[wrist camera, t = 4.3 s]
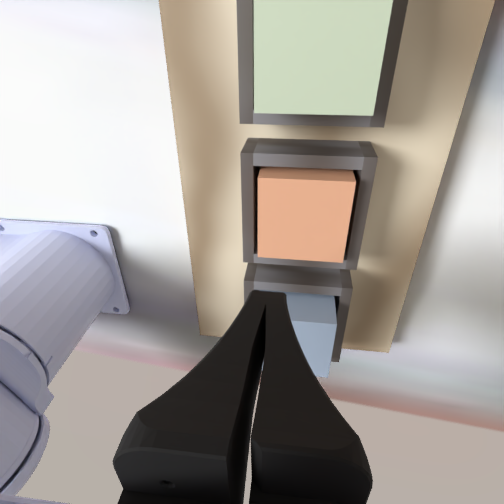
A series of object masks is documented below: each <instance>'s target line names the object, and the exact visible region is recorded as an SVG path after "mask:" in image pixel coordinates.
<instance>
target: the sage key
mask: <svg viewBox="0 0 504 504" xmlns="http://www.w3.org/2000/svg"><path fill="white" fill-rule="evenodd" d="M392 4H393V0H254V113H270V114H315V115H360V116H373V114H374V108H375V102H376V96H377V90H378V85H379V79H380V73H381V67H382V61H383V56H384V50H385V44H386V38H387V33H388V27H389V21H390V15H391V9H392Z"/></svg>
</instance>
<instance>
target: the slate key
mask: <svg viewBox="0 0 504 504" xmlns="http://www.w3.org/2000/svg"><path fill="white" fill-rule="evenodd" d="M259 291H268V290H259ZM270 292H281V291H270ZM284 293H285V294H286V295H287V306H288V311H289V315H290V319H291V322H292V325H293V328H294V331H295V334H296V336H297V339H298V342H299V344H300V346H301V349H302V351H303V353H304V355H305V357H306V359H307V361H308V363H309V365H310V367H311V369H312V371H313V373H314V374H315V376H318V377H327V378H328V374H329V368H330V362H331V357H332V351H333V345H334V339H335V333H336V328H337V319H336V308H335V298H334V296H332V295H320V294H307V293H294V292H284ZM263 362H264V361H263ZM262 369H263V366H262Z"/></svg>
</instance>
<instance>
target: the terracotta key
mask: <svg viewBox="0 0 504 504" xmlns="http://www.w3.org/2000/svg"><path fill="white" fill-rule="evenodd" d="M355 186H356V180H355V176H354V173H353V170H348V169H323V168H297V167H271V166H261V169H260V172H259V176H258V257H264V258H279V259H293V260H308V261H323V262H338V263H343V259H344V253H345V247H346V241H347V235H348V228H349V222H350V216H351V210H352V204H353V198H354V192H355Z"/></svg>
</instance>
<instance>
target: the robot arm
mask: <svg viewBox="0 0 504 504" xmlns="http://www.w3.org/2000/svg"><path fill="white" fill-rule="evenodd" d="M2 226H3V227H2ZM94 231H96V232H97V234H96V233H94ZM116 307H117V308H116ZM129 310H130V307H129V303H128V299H127V295H126V291H125V287H124V284H123V280H122V276H121V272H120V268H119V265H118V261H117V257H116V253H115V249H114V245H113V242H112V238H111V234H110V231H109V229H108V228H107V227H105V226H102V225H88V224H71V223H55V222H38V221H22V220H5V219H0V504H67V503H61V502H54V501H46V500H39V499H33V498H26V497H19V496H15V495H16V494H17V493H18V492H19V491H20V490H21V488H22V487H23V486H24V485H25V483H26V482H27V481H28V479H29V478H30V477H31V475H32V474H33V472H34V470H35V469H36V467H37V465H38V463H39V461H40V459H41V457H42V455H43V452H44V450H45V447H46V445H47V441H48V438H49V431H50V425H49V421H48V419H47V417H46V416H45V415H44V414H43V413H44V412H45V410H46V409H47V407H48V406H49V404H50V403H51V401H52V400H53V398H54V396H53V394H51V392H50V391H49V389H48V385H49V384H50V382H51V381H52V379H53V378H54V377H55V375H56V374H57V372H58V371H59V369H60V368H61V367H62V365H63V364H64V362H65V361H66V360H67V358H68V357H69V355H70V354H71V352H72V351H73V350H74V348H75V347H76V345H77V344H78V342H79V341H80V340H81V338H82V337H83V335H84V334H85V332H86V331H87V330H88V328H89V327H90V325H91V324H92V323H93V321H94V320H95V318H96V317H97V315H98V314H99V313H100V312H102V313H113V314H127V313H128V312H129ZM263 361H264V362H263ZM262 366H263V369H262ZM261 371H262V376H261ZM260 376H261V382H260V389H259V395H258V401H257V407H256V413H255V418H254V423H253V428H252V434H251V426H252V417H253V410H254V404H255V400H256V394H257V390H258V385H259V380H260ZM250 434H251V463H252V464H251V465H252V482H251V490H250V499H249V504H366V502H367V500H368V497H369V494H370V491H371V489H372V481H373V480H372V474H371V470H370V466H369V463H368V459H367V456H366V454H365V451H364V448H363V446H362V443H361V441H360V438H359V436H358V435H357V434H356V433H355V431H354V430H353V429H352V428H351V427H350V425H349V424H348V423H347V422H346V420H345V419H344V418H343V417H342V415H341V414H340V412H339V411H338V410H337V408H336V407H335V406H334V404H333V403H332V401H331V400H330V398H329V397H328V395H327V394H326V392H325V391H324V389H323V388H322V386H321V385H320V383H319V381H318V380H317V378H316V376H315V374H314V373H313V371H312V369H311V367H310V365H309V363H308V361H307V359H306V357H305V355H304V353H303V351H302V349H301V346H300V344H299V342H298V339H297V336H296V334H295V331H294V328H293V325H292V322H291V319H290V315H289V311H288V306H287V295H286V294H285V293H284V292H270V291H255V290H252V291H251V292H250V293H249V295H248V298H247V300H246V302H245V303H244V305H243V307H242V309H241V310H240V312H239V314H238V315H237V317H236V318H235V320H234V321H233V323H232V324H231V325H230V327H229V328H228V330H227V331H226V332H225V334H224V335H223V336H222V337H221V339H220V340H219V341H218V343H217V344H216V345H215V346H214V347H213V348H212V350H211V351H210V352H209V353H208V354H207V355H206V356H205V357H204V358H203V359H202V360H201V361H200V362H199V363H198V364H197V365H196V366H195V367H194V368H193V369H192V370H191V371H190V372H189V373H188V374H187V375H186V376H185V377H183V378H182V379H181V380H180V381H179V382H177V383H176V384H175V385H174V386H172V387H171V388H170V389H169V390H168V391H166V392H165V393H164V394H162V395H161V396H160V397H158V398H157V399H155V400H154V401H152V402H151V403H150V404H148V405H147V406H145V407H144V408H142V409H141V410H139V411H138V412H137V413H136V414H135V416H134V418H133V419H132V421H131V422H130V424H129V426H128V428H127V429H126V431H125V433H124V435H123V437H122V439H121V442H120V444H119V447H118V449H117V451H116V454H115V456H114V459H113V465H114V469H115V471H116V473H117V475H118V478H119V480H120V482H121V484H122V487H123V491H122V494H121V496H120V499H119V502H118V504H243V500H244V491H245V481H246V471H247V461H248V453H249V443H250Z"/></svg>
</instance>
